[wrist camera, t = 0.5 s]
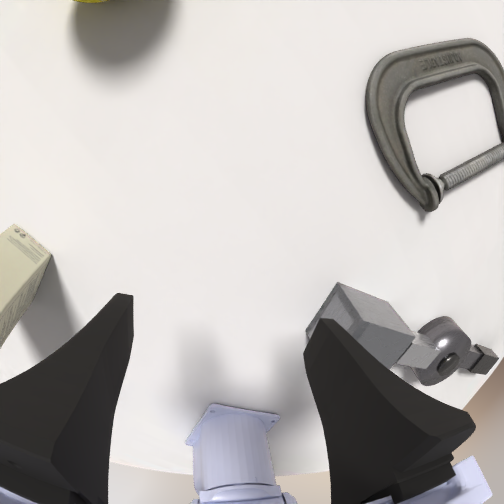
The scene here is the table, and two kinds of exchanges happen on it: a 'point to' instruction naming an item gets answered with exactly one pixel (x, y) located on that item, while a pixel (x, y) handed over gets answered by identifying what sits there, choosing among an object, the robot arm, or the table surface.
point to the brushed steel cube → (367, 322)
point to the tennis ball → (91, 1)
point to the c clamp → (417, 77)
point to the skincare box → (18, 276)
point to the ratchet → (444, 352)
